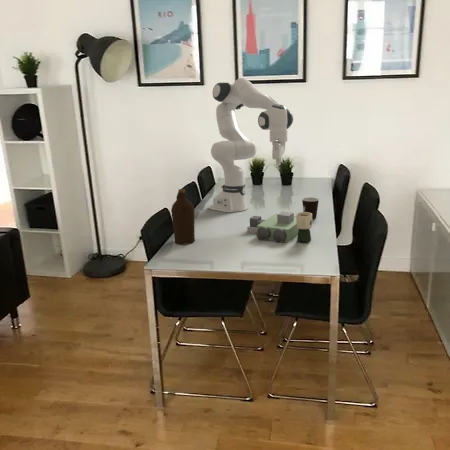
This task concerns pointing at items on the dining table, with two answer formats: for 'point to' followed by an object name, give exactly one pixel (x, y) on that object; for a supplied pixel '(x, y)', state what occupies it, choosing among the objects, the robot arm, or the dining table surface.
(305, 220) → the character mug
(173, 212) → the olive oil
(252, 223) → the grey stepped block
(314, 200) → the coffee mug
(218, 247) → the dining table surface
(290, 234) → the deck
